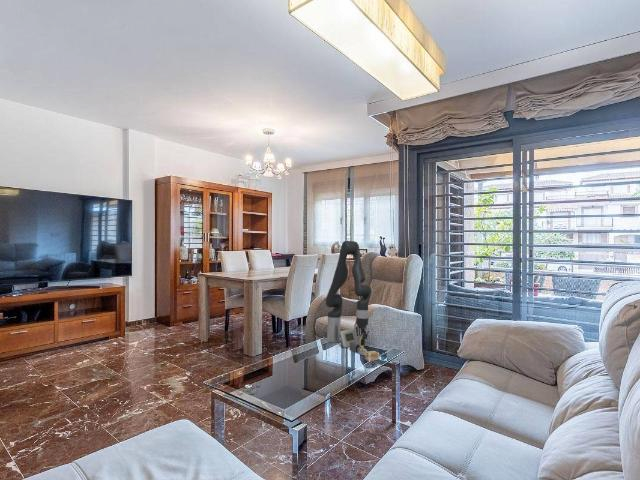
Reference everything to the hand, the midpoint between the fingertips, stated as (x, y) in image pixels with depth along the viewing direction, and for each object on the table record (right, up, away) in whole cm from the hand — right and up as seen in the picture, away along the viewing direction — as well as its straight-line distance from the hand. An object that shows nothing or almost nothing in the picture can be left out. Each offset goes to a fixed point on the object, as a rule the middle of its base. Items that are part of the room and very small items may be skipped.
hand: (361, 344), depth 225 cm
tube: (-2, -5, +4) cm, 7 cm away
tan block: (+5, -5, -13) cm, 15 cm away
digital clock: (-6, -6, +18) cm, 20 cm away
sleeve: (-3, -6, +6) cm, 9 cm away
